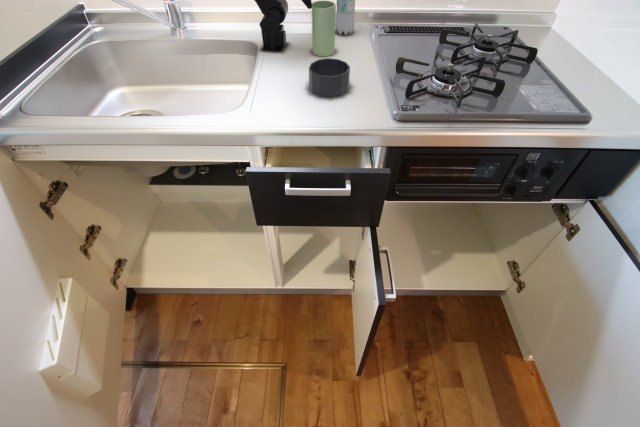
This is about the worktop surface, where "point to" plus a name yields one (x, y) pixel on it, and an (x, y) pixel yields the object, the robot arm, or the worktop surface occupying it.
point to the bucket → (329, 77)
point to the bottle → (345, 16)
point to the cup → (323, 27)
